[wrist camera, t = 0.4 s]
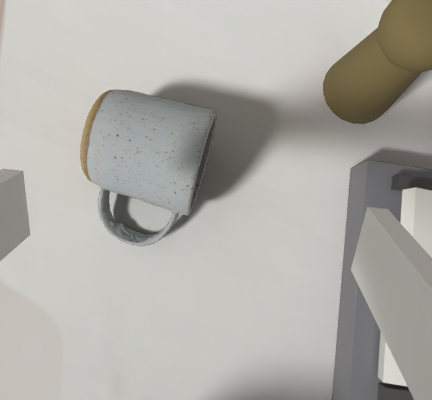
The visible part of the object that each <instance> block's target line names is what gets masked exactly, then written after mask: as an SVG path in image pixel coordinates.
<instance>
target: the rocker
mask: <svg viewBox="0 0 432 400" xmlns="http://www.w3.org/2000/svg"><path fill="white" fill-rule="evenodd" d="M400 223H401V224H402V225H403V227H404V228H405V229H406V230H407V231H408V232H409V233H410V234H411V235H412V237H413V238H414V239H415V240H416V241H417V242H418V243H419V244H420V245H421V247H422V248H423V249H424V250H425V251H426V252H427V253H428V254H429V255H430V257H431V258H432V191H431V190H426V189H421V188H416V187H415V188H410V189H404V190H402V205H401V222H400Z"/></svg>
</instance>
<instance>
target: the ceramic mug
mask: <svg viewBox="0 0 432 400" xmlns="http://www.w3.org/2000/svg"><path fill="white" fill-rule="evenodd" d="M216 120H217V114H216V111H214V110H212V109H207V108H203V107H198V106H193V105H189V104H185V103H181V102H177V101H173V100H168V99H163V98H159V97H154V96H150V95H147V94H143V93H139V92H134V91H129V90H109V91H107V92H105V93H103V94H102V95H101V96H100V97H99V98H98V99H97V100H96V102H95V103H94V105H93V106H92V108H91V110H90V112H89V114H88V117H87V120H86V123H85V126H84V130H83V135H82V141H81V151H80V160H81V166H82V169H83V171H84V173H85V175H86V177H87V179H88V180H89V181H91V182H93V183H95V184H96V185H98V186H100V187H101V190H100V192H99V198H98V210H99V215H100V219H101V221H102V223H103V225H104V226H105V228H106V229H107V230H108V231H109V233H110V234H112V235H113V236H114V237H116V238H117V239H119V240H121V241H123V242H126V243H129V244H131V245H137V246H146V245H150V244H153V243H155V242H157V241H158V240H160V239H161V238H163V237H164V236H165V235H166V234H167V233H168V232H169V231H170V229H171V228H172V226H173V225H174V223H175V221H176V219H177V218H178V216H179V213H180V214H183V215H189V214H190V213H191V211H192V209H193V207H194V204H195V201H196V199H197V196H198V193H199V189H200V186H201V183H202V180H203V176H204V173H205V169H206V166H207V162H208V158H209V154H210V150H211V146H212V142H213V138H214V133H215V128H216ZM110 191H111V192H115V193H118V194H121V195H125V196H129V197H132V198H135V199H139V200H142V201H144V202H147V203H150V204H152V205H156V206H159V207H163V208H165V209H168V210H171V211H172V213H173V214H172V217H171V219H170V221H169V222H168V224H167V225H166V226H165V227H164V228H163V229H162V230H161V231H160V232H158V233H156V234H153V235H150V234H148V235H146V234H143V233H140V232H137V231H135V230H132V229H130V228H128V227H126V226H125V225H124V224H123V223H117V222H116V221H115V220H114V218H113V216H112V214H111V212H110V204H109V193H110Z"/></svg>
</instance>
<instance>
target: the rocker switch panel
mask: <svg viewBox="0 0 432 400" xmlns="http://www.w3.org/2000/svg"><path fill="white" fill-rule="evenodd" d="M415 187H416V188H421V189H426V190H431V191H432V169H425V168H418V167H411V166H404V165H398V164H391V163H384V162H377V161H371V160H367V161H365V162H363V163H361V164H359V165H357V166H355V167H353V168H351V172H350V185H349V197H348V209H347V222H346V234H345V246H344V258H343V271H342V283H341V295H340V308H339V320H338V332H337V344H336V357H335V369H334V381H333V394H332V400H414V398H413V396H412V394H411V392H410V390H409V388H408V387H407V386H401V385H395V384H389V383H383V382H382V381H381V380H380V379H379V378H378V363H379V348H380V333H381V331H380V329H379V327H378V325H377V322H376V320H375V318H374V316H373V314H372V312H371V310H370V308H369V306H368V304H367V302H366V300H365V298H364V296H363V294H362V292H361V290H360V288H359V286H358V283H357V281H356V279H355V277H354V275H353V273H352V271H351V267H352V263H353V259H354V256H355V252H356V248H357V244H358V240H359V236H360V232H361V229H362V225H363V221H364V217H365V213H366V209H367V207H373V208H383V209H388V210H389V211H390V212H391V213H392V214H393V215H394V217H395V218H396V219H397V220H398V221H399V222H401V205H402V190H404V189H410V188H415Z"/></svg>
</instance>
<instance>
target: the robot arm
mask: <svg viewBox="0 0 432 400" xmlns="http://www.w3.org/2000/svg"><path fill="white" fill-rule="evenodd" d="M29 235H30V229H29V220H28V211H27V202H26V193H25V184H24V175H23V171H18V170H9V169H2V170H0V261H1V260H2V259H3V258H4V257H5V256H7V255H8V254H9V253H10V252H11V251H12V250H13V249H15V248H16V247H17V246H18V245H19V244H20V243H21V242H23V241H24V240H25V239H26V238H27V237H28V236H29ZM351 271H352V273H353V275H354V277H355V279H356V281H357V283H358V286H359V288H360V290H361V292H362V294H363V296H364V298H365V300H366V302H367V304H368V306H369V308H370V310H371V312H372V314H373V316H374V318H375V320H376V322H377V325H378V327H379V329H380V331H381V333H382V335H383V337H384V339H385V341H386V343H387V345H388V347H389V349H390V351H391V353H392V355H393V357H394V359H395V361H396V364H397V366H398V368H399V370H400V372H401V374H402V376H403V378H404V380H405V382H406V384H407V386H408V388H409V390H410V392H411V394H412V396H413V398H414V400H432V258H431V257H430V255H429V254H428V253H427V252H426V251H425V250H424V249H423V248H422V247H421V245H420V244H419V243H418V242H417V241H416V240H415V239H414V238H413V237H412V235H411V234H410V233H409V232H408V231H407V230H406V229H405V228H404V227H403V225H402V224H401V223H400V222H399V221H398V220H397V219H396V218H395V217H394V215H393V214H392V213H391V212H390V211H389V210H388V209H383V208H373V207H367V209H366V213H365V217H364V221H363V225H362V229H361V232H360V236H359V240H358V244H357V248H356V252H355V256H354V259H353V263H352V267H351Z"/></svg>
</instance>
